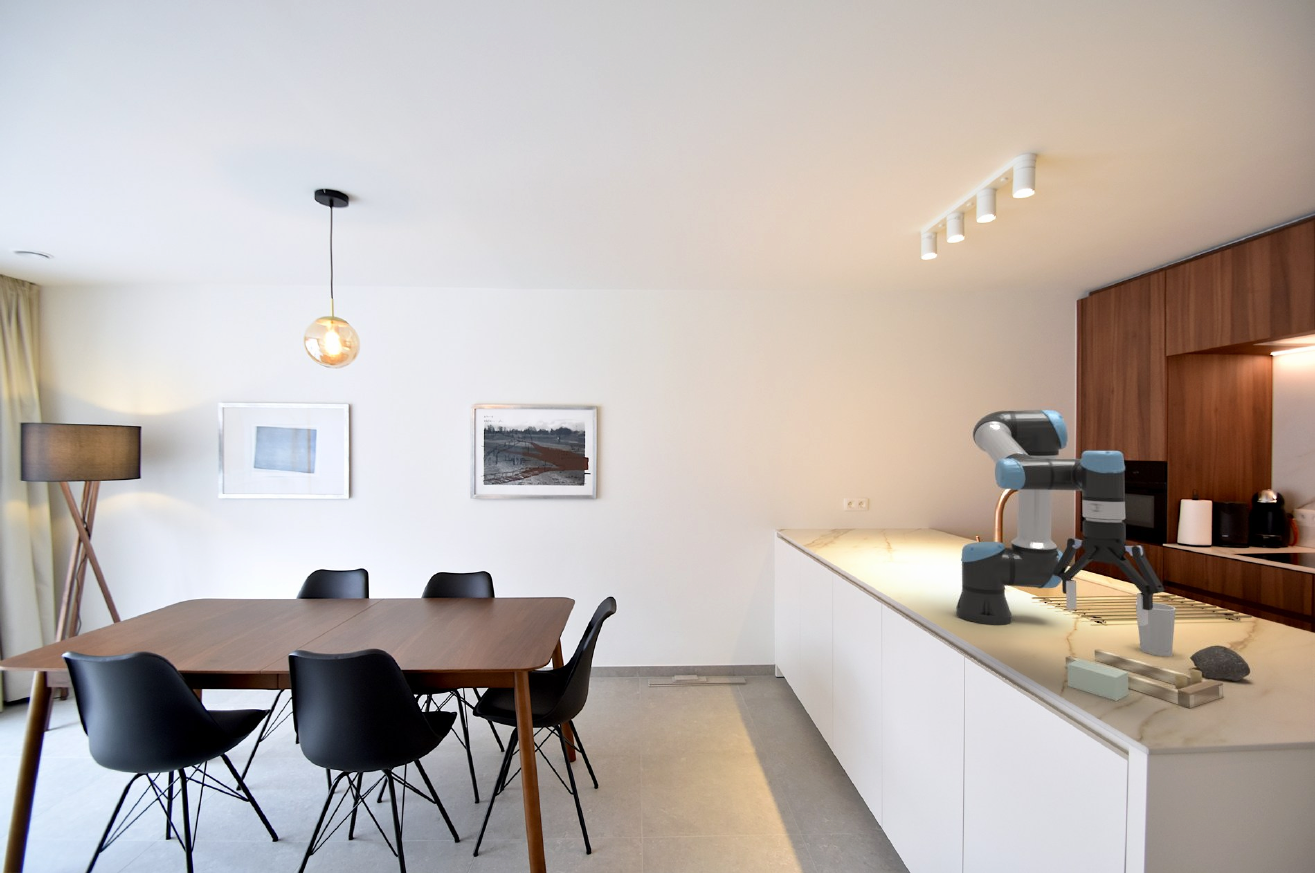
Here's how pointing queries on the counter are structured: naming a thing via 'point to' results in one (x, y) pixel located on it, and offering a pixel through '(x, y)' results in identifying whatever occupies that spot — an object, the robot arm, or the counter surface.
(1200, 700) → the wooden u-shaped frame
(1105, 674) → the block
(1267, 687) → the counter surface
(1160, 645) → the cup
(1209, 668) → the stone
